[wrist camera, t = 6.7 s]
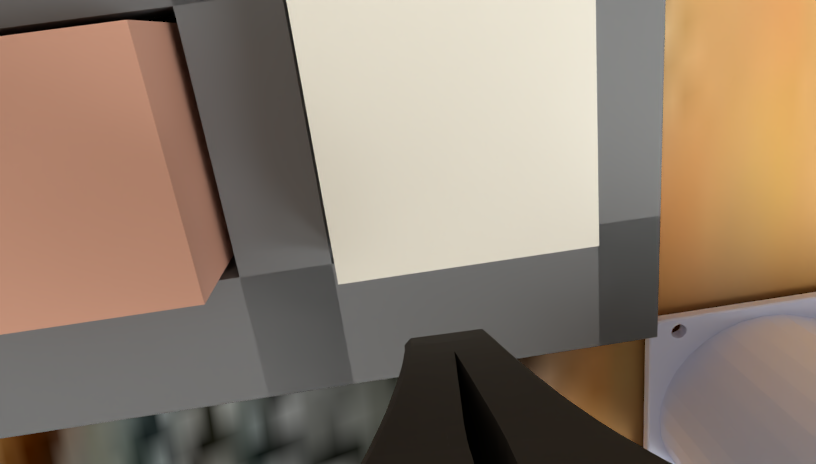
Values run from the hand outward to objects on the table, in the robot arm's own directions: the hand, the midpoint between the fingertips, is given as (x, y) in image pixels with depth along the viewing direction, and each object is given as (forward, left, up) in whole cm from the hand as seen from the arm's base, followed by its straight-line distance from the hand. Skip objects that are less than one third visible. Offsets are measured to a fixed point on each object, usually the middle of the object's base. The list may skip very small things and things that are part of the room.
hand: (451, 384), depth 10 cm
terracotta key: (+8, -4, -8) cm, 12 cm away
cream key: (-1, -4, -8) cm, 8 cm away
